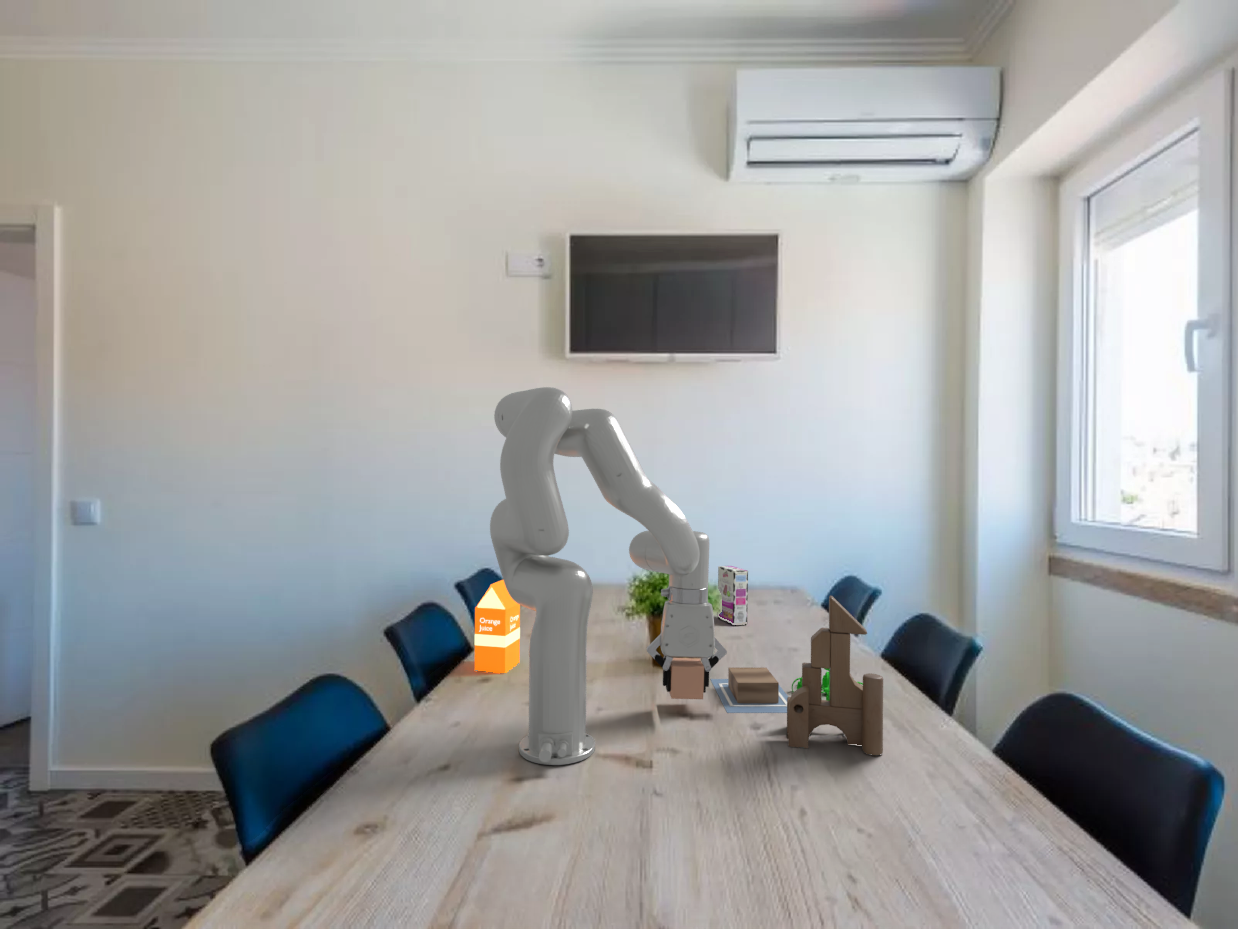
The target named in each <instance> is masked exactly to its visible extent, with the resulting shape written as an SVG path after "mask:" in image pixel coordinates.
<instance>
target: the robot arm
mask: <svg viewBox="0 0 1238 929" xmlns="http://www.w3.org/2000/svg"><path fill="white" fill-rule="evenodd" d="M493 415H494V417H493V418H494V424H495V427H496V428H497V430H498V432H499V433H500V434H501V435H502V436H503V437H504V438H505V441H504V444H503V445H502V449H501V454H500V460H499V463H500V465H499V470H500V477H501V481H502V482H501V483H502V486H503V491H504V494H505V498H504V499H502V500H501V501H500V502H499V503H497V505H496V506H495V508H494V509H493V511H492V514H491V517H490V522H489V535H490V538H491V543H492V546H493V550H494V552H495V557H496V560H497V563H498V566H499V570H500V573H501V577H502V580H504V583H505V586H506V589H507V591H508V593H509V595H510V596H511V598H512V599H513V600H514V601H515V602H516V603H518V604H519V605H520V607H523V608H526V609H528V610H532V611H534V612H535V618H534V621H533V625H532V627H531V631H530V636H529V641H528V642H529V644H528V660H529V661H528V662H529V663H528V664H529V665H528V666H529V667H528V668H529V670H528V734H527V735H525V736H524V737H523V738H522V739H520V741H519V744H518V752H519V755H520V756H521V757H522V758H523V759H525V760H527V761H529V762H531V763H535V764H539V765H545V766H563V765H569V764H570V765H571V764H575V763H578V762H582V761H583V760H586V759H588V758H589V757H591V756H592V755H593V753H594V752H595V750H596V740H595V738H594V737H593V736H592V735H590V733H587V664H588V663H587V658H588V656H587V643H588V642H587V638H588V637H587V636H588V624H589V618H590V617H589V616H590V612H591V608H592V602H593V596H594V594H593V593H594V592H593V583H592V580H591V578H590V575H589V573H588V572H587V570H585V569H584V567H582V566H581V565H580V564H577V563H575V561H571V560H568V559H563V558H560V557H559V558H558V557H555V556H551V555H555V554H557V553H559V552H561V551H562V550H563V549H564V547H565V546H566V545H567V543H568V539H569V536H570V532H569V531H570V530H569V523H568V519H567V516H566V512H565V509H564V504H563V501H562V497H561V493H560V491H559V487H558V482H557V479H556V478H557V477H556V473H555V468H554V458H555V455H558V456H562V457H568V458H569V457H570V458H581V459H582V461H583V462H584V464H585V465H586V467H587V469H588V471H589V472H590V474H591V476H592V478H593V480H594V482H595V483H596V486H597V487H598V489H599V491H600V493H601V496H602V497H603V499H604V500H605V501H606V502H607V503H608V504H610V505H611V506H612V507H614V508H615V509H616V510H618V511H619V512H622V513H624V514H625V515H627V516H628V517H631V518H632V519H634V520H635V521H637V522H638V523H639V524H641V525H642V526H643V527H644V528H645V529H646V530H643V531H641V532H639V533H637V534H636V535H634V537H633V538H632V540H630V543H629V547H628V553H629V558H630V560H631V561H632V563H634V564H635V565H636V566H637V567H638V568H641V569H644V570H647V571H651V572H656V573H660V574H661V573H662V574H666V575H668V586H667V588H666V587H665V588H662V589H661V590H660V592H661V593H660V595H661V597H665V598H666V597H667V600H665V602H664V606H663V610H662V616H661V617H662V618H661V622H660V634H659V635H658V636H657V637H656V638H655V639H654V640H653V641H652V642H650V643H649V645H647V647H646V652H647V653H648V654H649V656H651V657H652V658H653V659H654V660H655V661H656V663H657V664H658V665H659V666H660V667H661V668H662V686H663V687H665V690H666V692H668V693H669V692H670V691H671V670H670V665H671V662H672V660H673V658H696V659H700V660H701V662H702V664H703V666H704V691H703V694H705V693H706V692H707V691H706V690H707V688H709V687H710V672H711V671H712V669H713V668H714V666H716V665H717V664H718V663H719V661H720V660H721V659H723V658H724V657H725V655H727V653H728V651H727V649H726V648H725V647H724V645H722V643H720V642H719V641H718V639H717V638H716V637H715V620H714V618H715V616H714V608H713V604H712V603H710V602H709V601H708V599H709V573H710V572H709V569H710V562H709V561H710V538H709V535H708V534H706V533H705V532H701V531H696V530H693V529H692V527H691V525H690V523H689V520H688V519H687V518H686V515H685V514H684V513H683V511H682V509H681V508H680V507H679V506H678V505H676V504H677V503H675V502H674V501H673V500H672V499H671V498H670V497H668V496H667V494H665V493H664V491H663V490H662V489H660V488H659V486H657V485H656V484H655V483H653V482H652V481H651V480H650V479H649V477H648V476H647V474H646V473H645V471H644V469H643V467H642V465H641V464H640V462H639V460H638V457H637V456H636V453H635V452H634V449H633V447H632V446H631V443H630V442H629V440H628V438H627V435H626V434H625V432H624V430H623V428H622V426H621V424H620V422H619V421H618V419H617V417H616V416H615V415H614V414H613V413H612V412H610V411H609V410H606V409H604V408H587V409H586V408H585V409H577V410H573V405H572V402H571V400H570V398H569V396H568V395H567V394H566V392H564V391H563V390H561V389H559V388H556V387H549V386H548V387H547V386H546V387H544V386H543V387H535V388H530V389H527V390H521V391H516V392H511V393H509V394H507V395H505V396H503V397H502V398H501V399H500V400H499V402H498V403H497V404H496V407H495V410H494V414H493ZM659 646H660V651H661V653H662V655H663V656H662V655H661V654H660V653H659V652H658V651H657V649H658V648H659ZM715 649H716V652H715Z"/></svg>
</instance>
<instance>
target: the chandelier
mask: <svg viewBox="0 0 1238 929" xmlns="http://www.w3.org/2000/svg"><path fill="white" fill-rule="evenodd" d="M823 670H825V675H823V676H822V678H821V694H824V693H826V696H825V700H828V701H830V700H829V688H830V668H829V669H826V668H823ZM796 682H797V685H796V690H798V689H799V688H801V687H802V676H801V677H797V678H795V679H794V680H793V682H792V684H791V691H792V693H794V692H795V691H794V689H793V687H794V684H795V683H796ZM857 682H858V683H859V684H861V685H862V686H863V682H860V681H857Z"/></svg>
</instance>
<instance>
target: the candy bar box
mask: <svg viewBox="0 0 1238 929" xmlns="http://www.w3.org/2000/svg"><path fill="white" fill-rule="evenodd" d="M717 567H718V572H717V573H718V575H717V590H718V589H719V591H720V593H721V595H722V612H721V613H720V614H719V616H720V617H722V618H724V619H727V620H729V621H731V622H732V623H742V622H747V623H748V602H749V601H748V598H749V597H748V595H749V594H748V592H749V589H748V588H749V571H748V570H746V569H744V568H740V567H737V566H732V565H718V566H717Z"/></svg>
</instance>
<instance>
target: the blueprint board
mask: <svg viewBox="0 0 1238 929" xmlns="http://www.w3.org/2000/svg"><path fill="white" fill-rule="evenodd" d="M710 682H711V683H712V685H713V688H714V689H715V691H716V693H717V695H718V697H719V699H720V701H721V704H722V705H723V707H724V709H725V711H726V713H727V714H787V698H788V697H789V695H788V694H787V693H786V691H784V689H783V688H782V687H781V685H779V701H778V703H737V701H736V699H735V697H734V696H733V694H732V692H731V690H730V689H729V687H728V678H710Z"/></svg>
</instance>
